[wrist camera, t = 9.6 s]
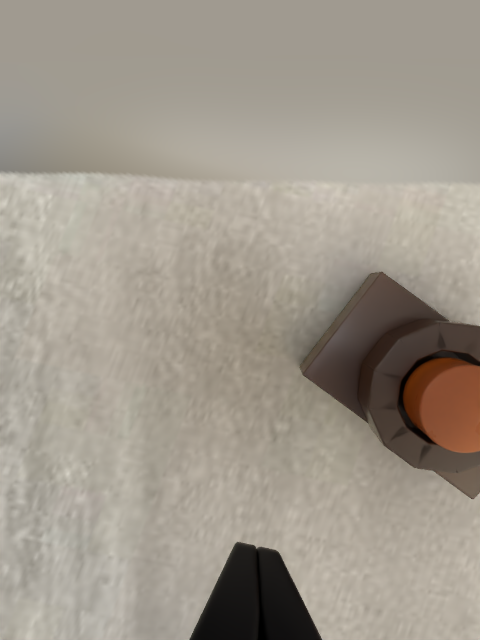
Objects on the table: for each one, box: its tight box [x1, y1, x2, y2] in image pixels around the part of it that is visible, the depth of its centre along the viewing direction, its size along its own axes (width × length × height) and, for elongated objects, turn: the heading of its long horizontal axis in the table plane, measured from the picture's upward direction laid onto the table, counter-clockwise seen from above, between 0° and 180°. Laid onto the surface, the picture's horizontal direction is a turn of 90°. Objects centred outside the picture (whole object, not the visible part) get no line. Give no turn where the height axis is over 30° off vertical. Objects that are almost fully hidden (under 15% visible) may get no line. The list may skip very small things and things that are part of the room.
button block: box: [300, 272, 480, 499], centre depth 17 cm, size 10×6×4 cm, turn 54°
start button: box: [403, 357, 480, 453], centre depth 14 cm, size 3×3×2 cm
